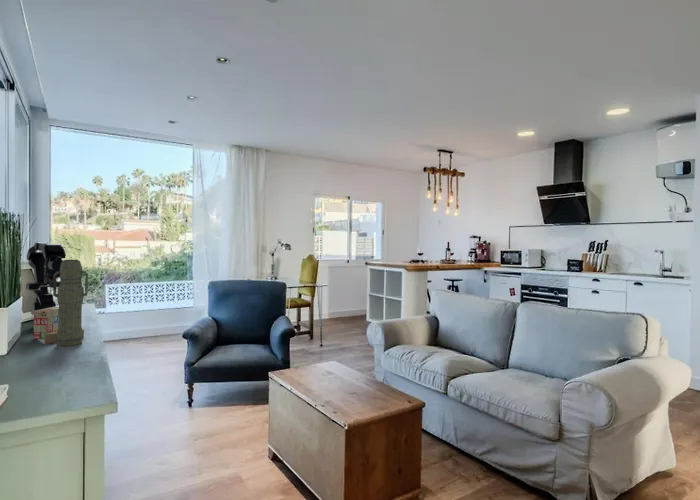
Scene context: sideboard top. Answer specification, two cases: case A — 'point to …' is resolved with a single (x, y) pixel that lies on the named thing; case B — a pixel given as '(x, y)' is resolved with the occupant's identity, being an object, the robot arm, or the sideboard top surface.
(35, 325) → the stack of blocks
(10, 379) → the sideboard top surface
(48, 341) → the dock pad
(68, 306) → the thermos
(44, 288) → the robot arm
